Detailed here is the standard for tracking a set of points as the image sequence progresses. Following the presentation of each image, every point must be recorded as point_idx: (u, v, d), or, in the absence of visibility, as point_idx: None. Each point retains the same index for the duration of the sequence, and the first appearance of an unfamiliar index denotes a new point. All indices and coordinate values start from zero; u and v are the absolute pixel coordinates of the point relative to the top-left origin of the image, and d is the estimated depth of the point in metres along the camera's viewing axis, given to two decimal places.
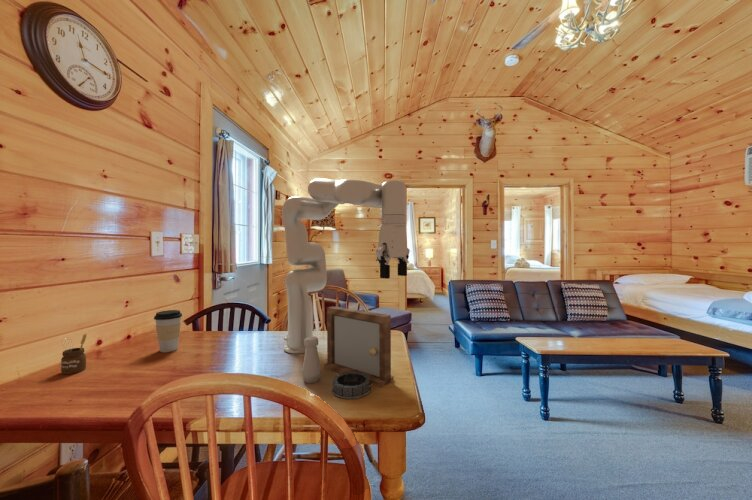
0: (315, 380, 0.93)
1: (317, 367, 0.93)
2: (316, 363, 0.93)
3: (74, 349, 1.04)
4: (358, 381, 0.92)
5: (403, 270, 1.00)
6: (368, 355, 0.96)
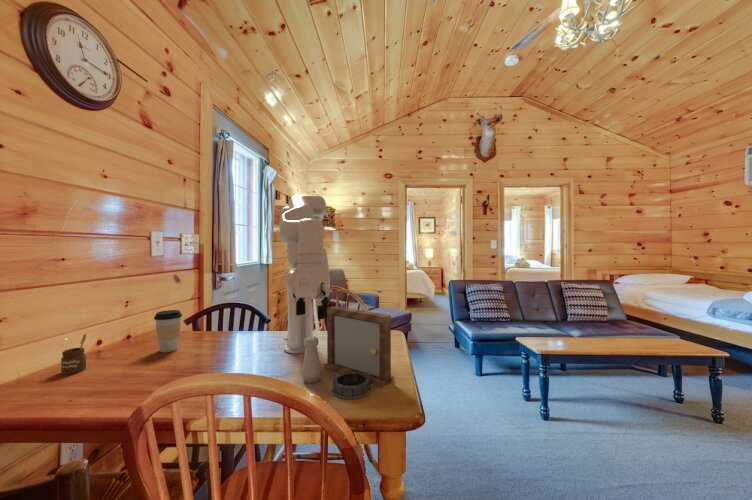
0: (315, 380, 0.93)
1: (317, 367, 0.93)
2: (316, 363, 0.93)
3: (74, 349, 1.04)
4: (358, 381, 0.92)
5: (303, 309, 0.98)
6: (368, 355, 0.96)
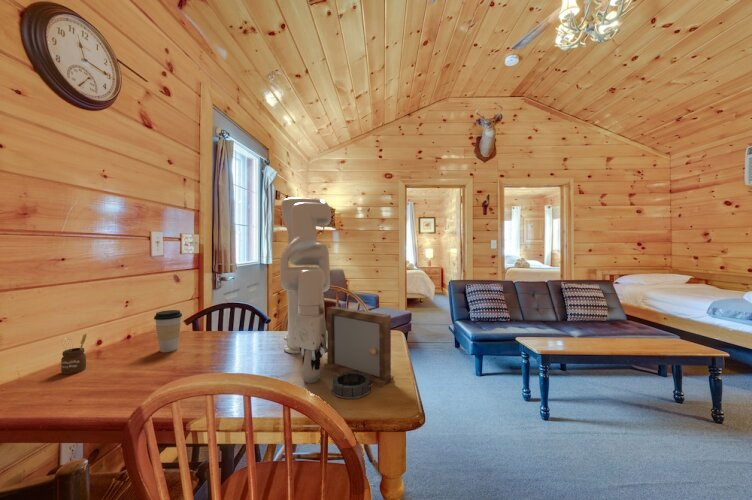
0: (315, 380, 0.93)
1: None
2: None
3: (74, 349, 1.04)
4: (358, 381, 0.92)
5: None
6: (368, 355, 0.96)
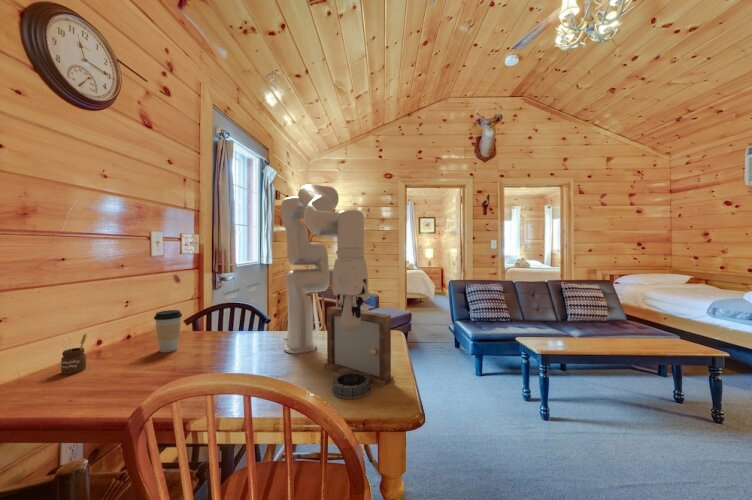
0: (355, 329, 0.87)
1: None
2: None
3: (74, 349, 1.04)
4: (358, 381, 0.92)
5: None
6: (368, 355, 0.96)
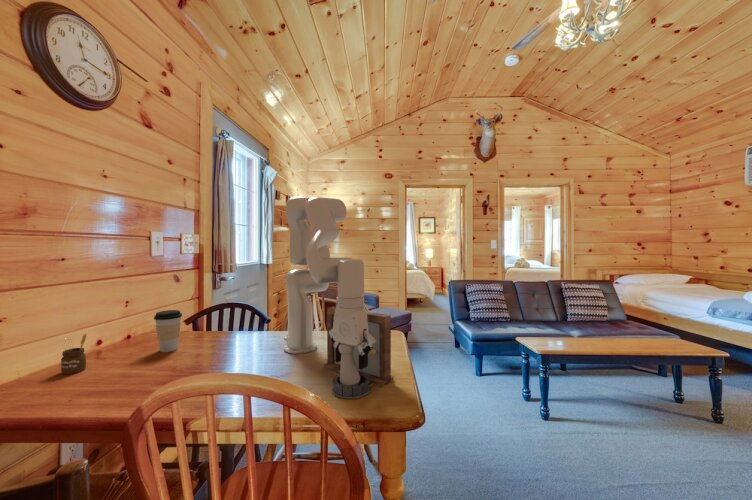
0: None
1: (356, 374, 0.87)
2: (354, 369, 0.86)
3: (74, 349, 1.04)
4: None
5: None
6: (368, 355, 0.96)
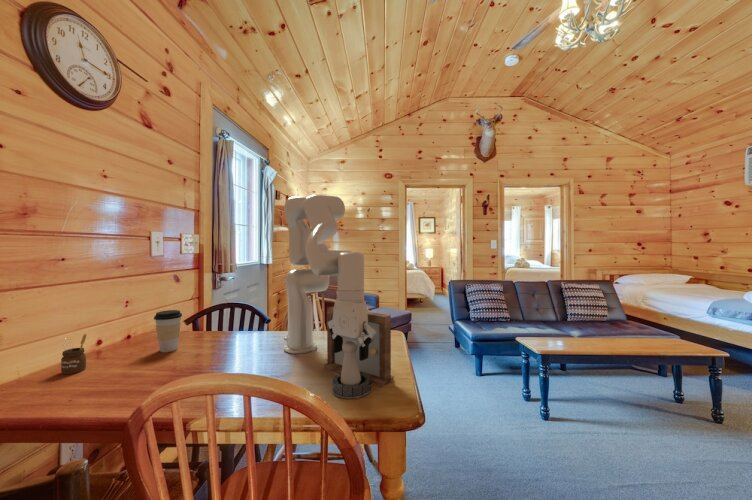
0: None
1: (357, 374, 0.87)
2: (356, 369, 0.87)
3: (74, 349, 1.04)
4: None
5: (341, 345, 0.92)
6: (368, 355, 0.96)
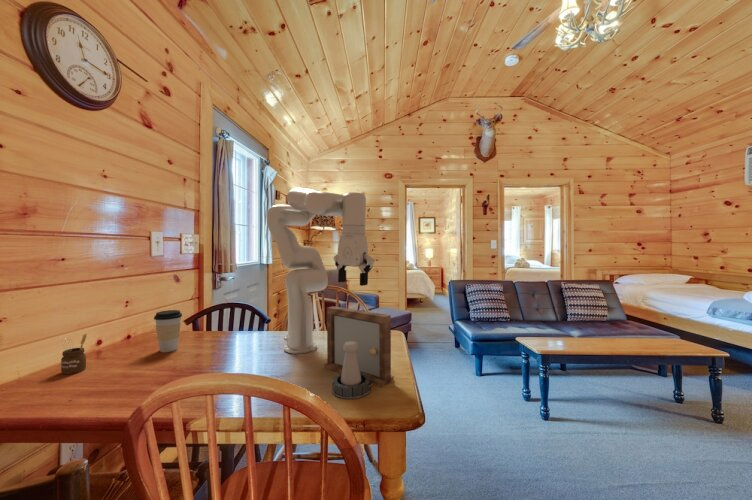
0: None
1: (358, 374, 0.87)
2: (356, 370, 0.87)
3: (74, 349, 1.04)
4: None
5: (344, 276, 1.06)
6: (368, 355, 0.96)
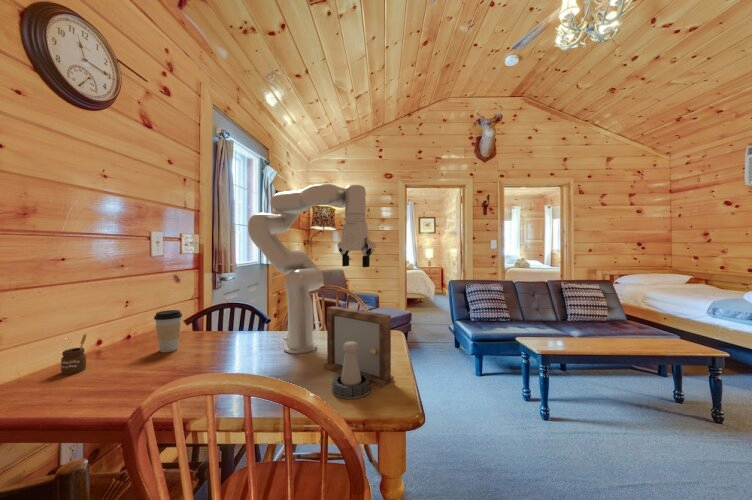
0: None
1: (358, 374, 0.87)
2: (356, 370, 0.87)
3: (74, 349, 1.04)
4: None
5: (347, 261, 1.17)
6: (368, 355, 0.96)
